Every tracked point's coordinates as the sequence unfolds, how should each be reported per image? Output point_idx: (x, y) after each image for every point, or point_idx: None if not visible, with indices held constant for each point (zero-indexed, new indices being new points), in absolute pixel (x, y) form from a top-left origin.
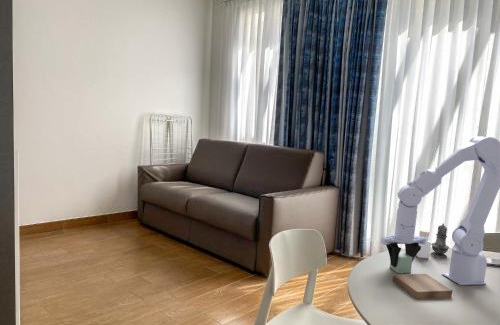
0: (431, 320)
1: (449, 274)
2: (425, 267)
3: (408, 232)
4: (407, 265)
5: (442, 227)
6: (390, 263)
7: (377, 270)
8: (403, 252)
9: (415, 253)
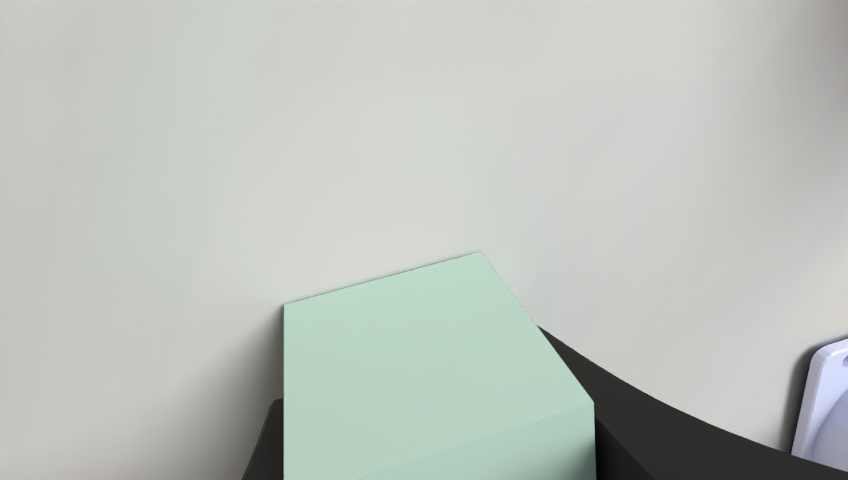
0: None
1: (843, 425)
2: (793, 182)
3: None
4: None
5: None
6: (286, 346)
7: (59, 439)
8: (574, 419)
9: None
